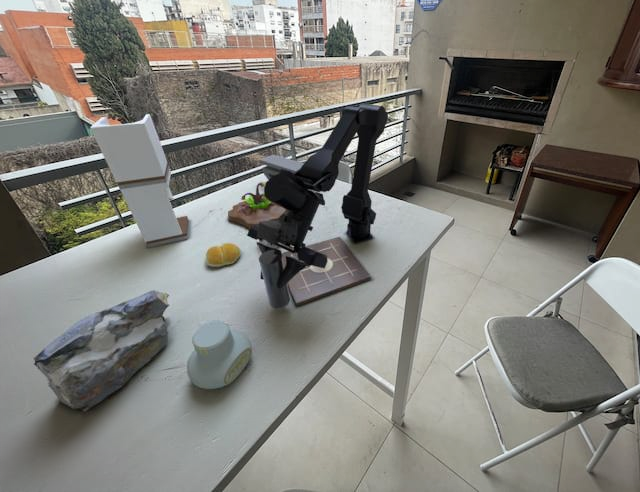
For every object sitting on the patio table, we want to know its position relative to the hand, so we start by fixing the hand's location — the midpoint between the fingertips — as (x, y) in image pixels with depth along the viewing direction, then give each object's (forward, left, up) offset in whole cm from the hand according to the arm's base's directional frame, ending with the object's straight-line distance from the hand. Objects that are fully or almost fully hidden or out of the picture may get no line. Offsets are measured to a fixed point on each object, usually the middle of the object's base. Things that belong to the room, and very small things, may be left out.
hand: (270, 283), depth 60 cm
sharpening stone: (-21, -63, -9) cm, 67 cm away
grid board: (-15, -10, -9) cm, 20 cm away
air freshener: (+12, +8, -9) cm, 17 cm away
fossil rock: (+27, -1, -9) cm, 28 cm away
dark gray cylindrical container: (-1, -1, -7) cm, 7 cm away
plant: (-6, -47, -9) cm, 48 cm away
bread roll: (+9, -26, -9) cm, 29 cm away
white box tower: (+23, -47, -9) cm, 53 cm away
